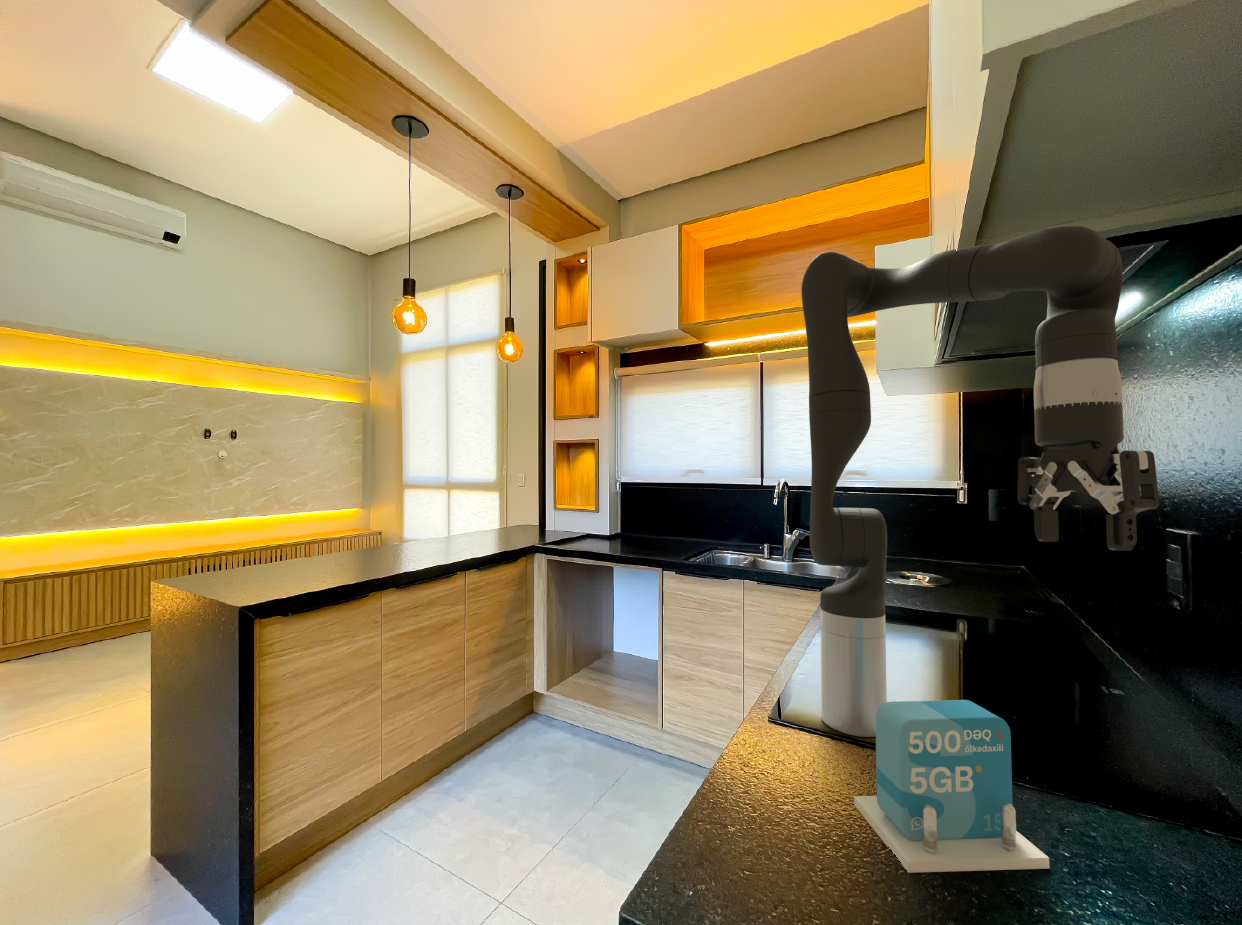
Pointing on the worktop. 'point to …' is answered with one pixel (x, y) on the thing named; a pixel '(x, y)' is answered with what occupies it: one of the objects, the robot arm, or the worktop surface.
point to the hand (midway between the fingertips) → (1081, 545)
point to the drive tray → (950, 848)
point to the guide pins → (1006, 827)
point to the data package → (943, 767)
